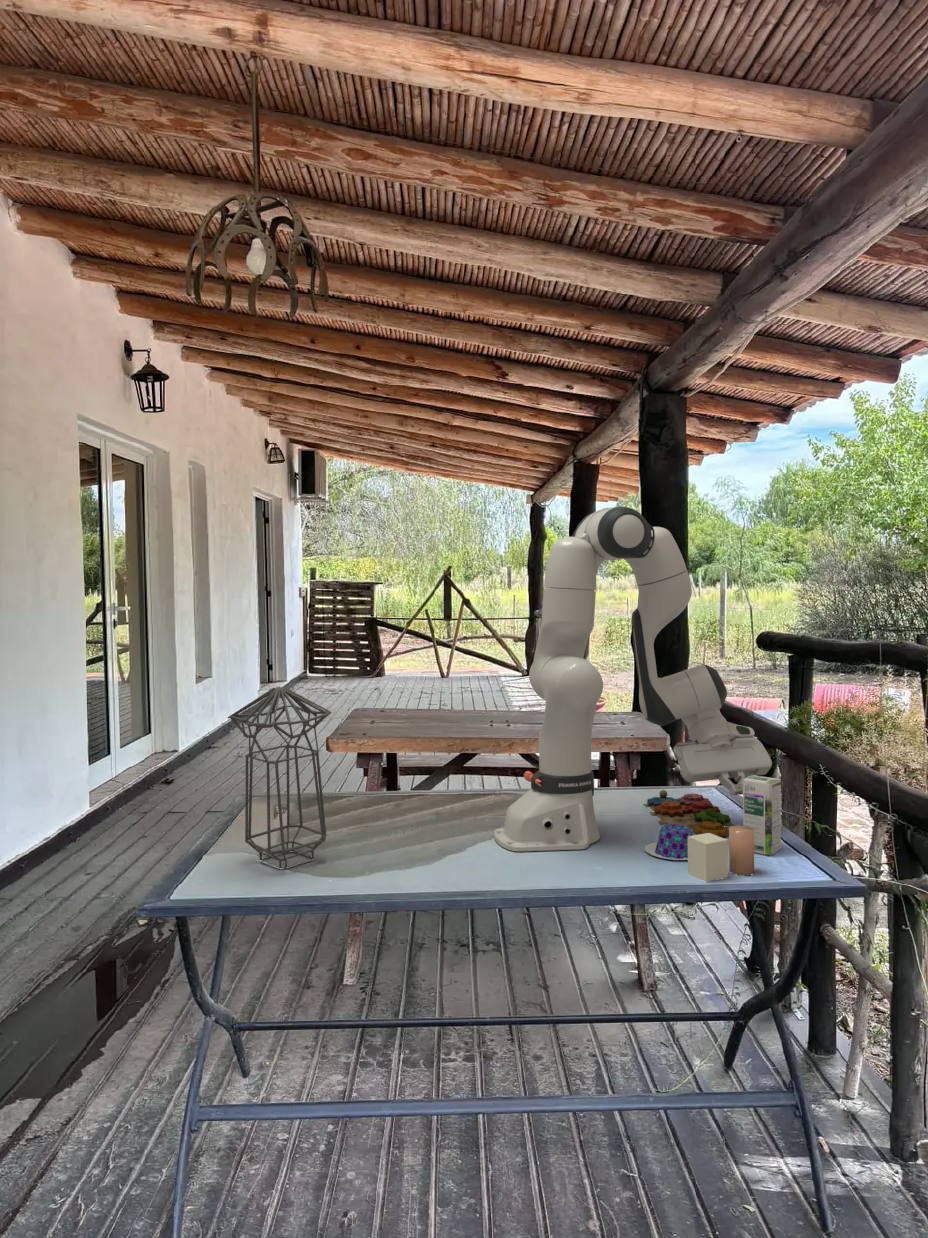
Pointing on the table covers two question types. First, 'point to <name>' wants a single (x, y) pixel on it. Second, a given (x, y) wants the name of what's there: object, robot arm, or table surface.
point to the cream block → (707, 857)
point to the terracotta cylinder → (741, 850)
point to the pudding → (671, 842)
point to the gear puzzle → (690, 813)
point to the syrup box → (763, 812)
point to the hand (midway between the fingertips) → (739, 793)
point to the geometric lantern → (274, 695)
